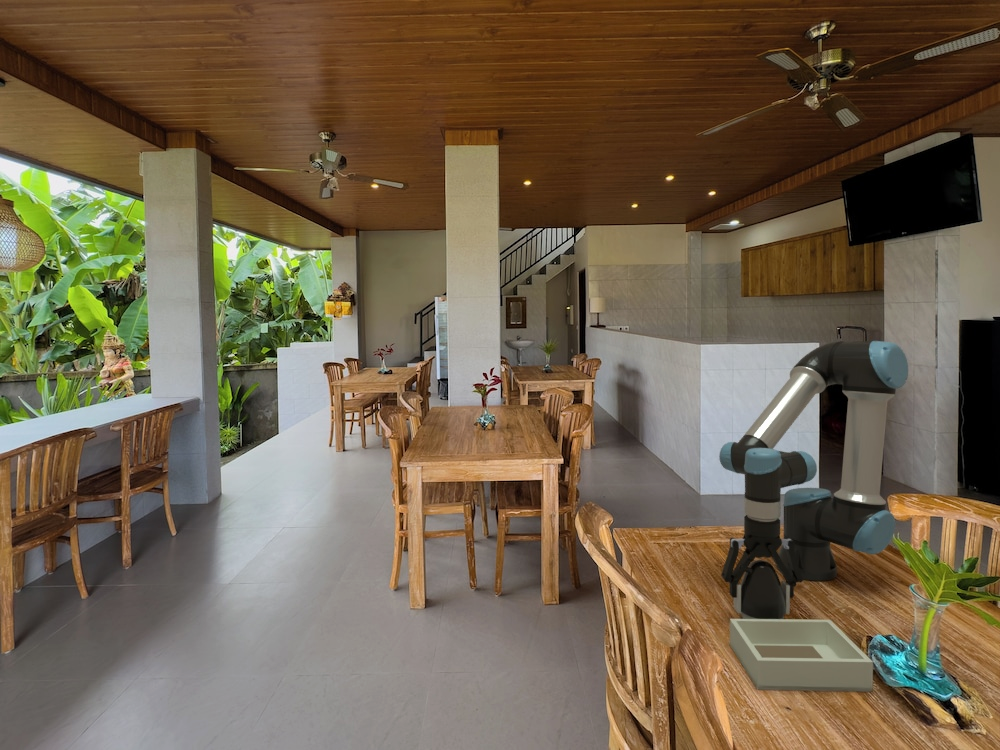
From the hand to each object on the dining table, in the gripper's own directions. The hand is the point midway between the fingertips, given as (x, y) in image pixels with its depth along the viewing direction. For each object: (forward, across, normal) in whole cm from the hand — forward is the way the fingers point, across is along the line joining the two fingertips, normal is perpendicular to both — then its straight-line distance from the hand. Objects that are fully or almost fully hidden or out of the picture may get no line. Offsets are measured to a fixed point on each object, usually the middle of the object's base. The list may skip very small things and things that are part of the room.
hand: (761, 610), depth 134 cm
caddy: (+3, 0, +17) cm, 17 cm away
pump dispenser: (+4, 0, 0) cm, 4 cm away
